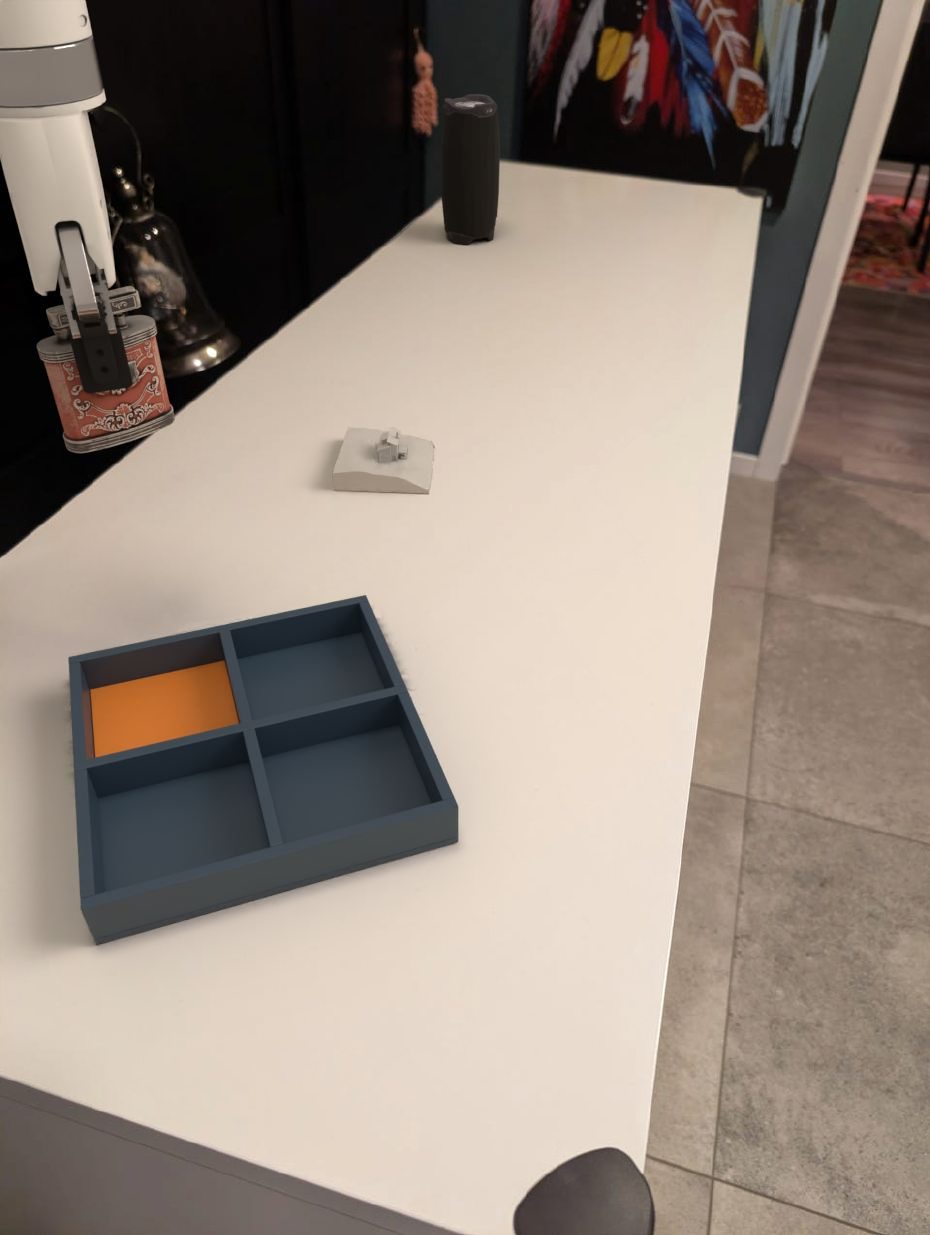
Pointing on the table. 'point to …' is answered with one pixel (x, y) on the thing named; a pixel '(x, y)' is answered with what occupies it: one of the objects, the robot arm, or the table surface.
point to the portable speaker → (470, 168)
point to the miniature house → (383, 462)
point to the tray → (246, 766)
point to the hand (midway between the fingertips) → (105, 370)
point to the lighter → (116, 411)
